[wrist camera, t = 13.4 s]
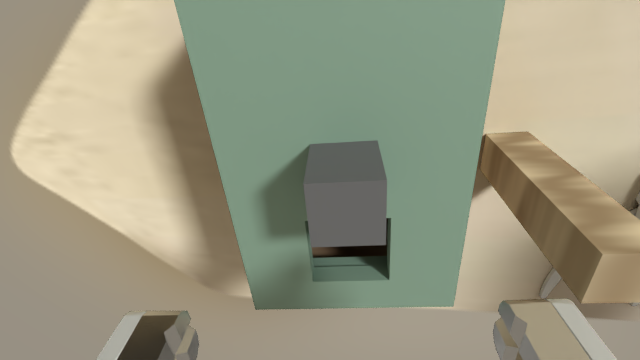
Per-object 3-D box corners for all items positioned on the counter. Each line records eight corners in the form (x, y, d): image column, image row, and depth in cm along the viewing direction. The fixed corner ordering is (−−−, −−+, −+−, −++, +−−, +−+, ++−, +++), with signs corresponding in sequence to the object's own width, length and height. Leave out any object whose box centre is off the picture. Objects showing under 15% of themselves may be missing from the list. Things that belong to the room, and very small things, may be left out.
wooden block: (527, 131, 25) (680, 252, 14) (519, 167, 27) (650, 302, 15) (486, 134, 25) (602, 254, 14) (479, 169, 27) (581, 303, 16)
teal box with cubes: (490, -57, 13) (581, -81, 8) (443, 278, 22) (473, 363, 17) (189, -27, 14) (109, -31, 9) (262, 282, 23) (241, 364, 18)
